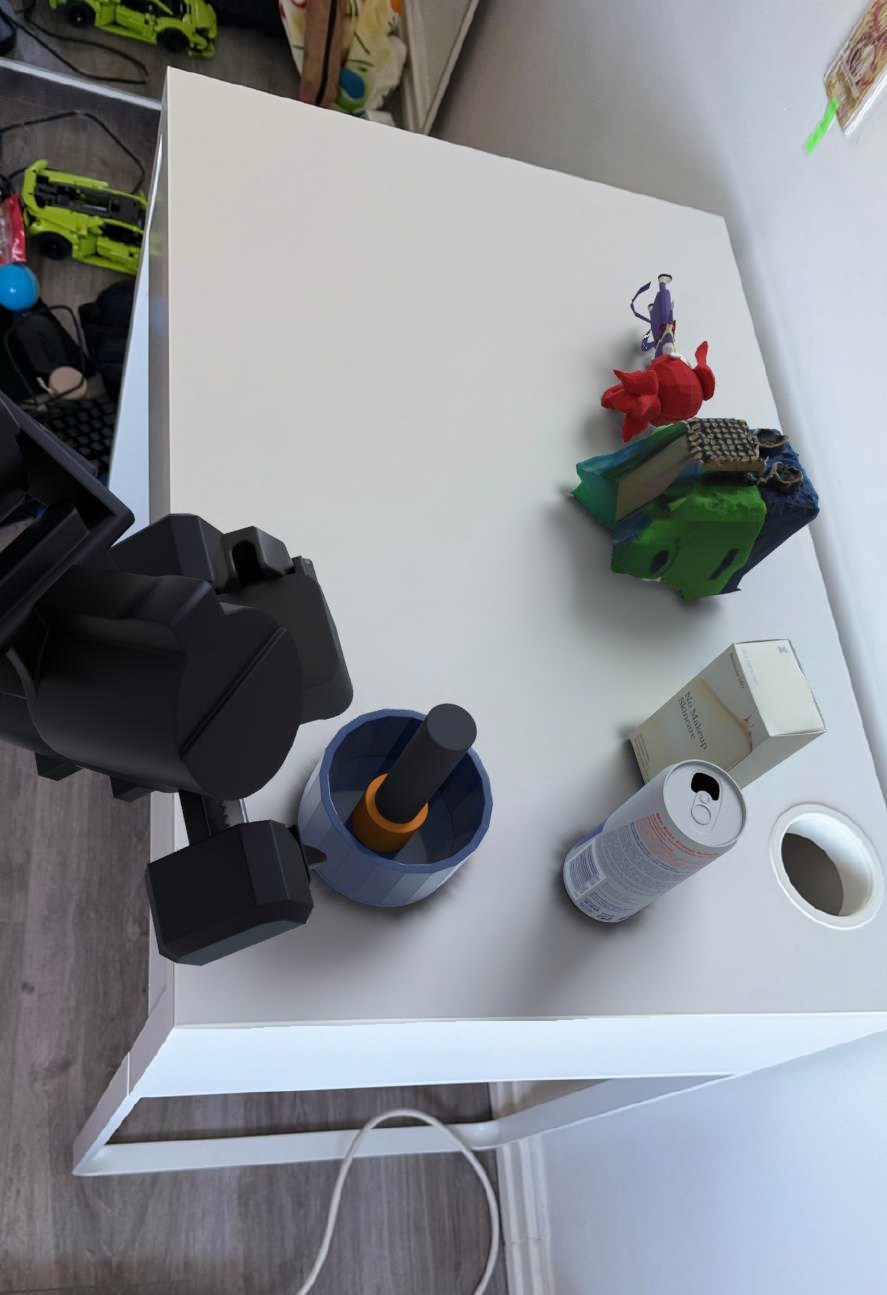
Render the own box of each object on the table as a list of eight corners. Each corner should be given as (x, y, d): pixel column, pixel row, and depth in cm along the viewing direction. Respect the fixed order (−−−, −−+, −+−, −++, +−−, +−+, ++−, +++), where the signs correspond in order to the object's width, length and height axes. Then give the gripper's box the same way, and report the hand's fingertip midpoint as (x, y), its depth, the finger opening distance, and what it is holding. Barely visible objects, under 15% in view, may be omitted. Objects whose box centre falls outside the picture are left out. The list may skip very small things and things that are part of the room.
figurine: (685, 327, 91) (701, 468, 84) (585, 317, 90) (593, 458, 83) (711, 261, 85) (730, 406, 79) (604, 249, 84) (615, 395, 78)
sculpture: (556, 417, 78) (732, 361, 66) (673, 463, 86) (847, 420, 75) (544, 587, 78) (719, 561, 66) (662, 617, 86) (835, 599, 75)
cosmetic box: (626, 735, 72) (728, 637, 61) (682, 730, 73) (790, 633, 63) (657, 823, 70) (768, 737, 59) (714, 815, 71) (831, 730, 61)
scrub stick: (345, 842, 61) (409, 746, 51) (358, 786, 63) (423, 683, 53) (405, 860, 62) (480, 770, 52) (417, 805, 64) (492, 707, 54)
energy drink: (646, 859, 68) (756, 778, 58) (632, 937, 65) (745, 866, 55) (569, 828, 67) (667, 740, 57) (552, 905, 64) (651, 827, 54)
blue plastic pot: (279, 878, 60) (300, 841, 55) (319, 731, 64) (342, 685, 60) (442, 927, 62) (477, 895, 57) (470, 781, 66) (504, 741, 62)
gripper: (316, 837, 34) (500, 897, 47) (198, 365, 40) (391, 540, 54) (40, 956, 37) (287, 979, 51) (-29, 504, 43) (207, 635, 57)
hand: (297, 774), depth 53 cm, fingers open, 9 cm apart
